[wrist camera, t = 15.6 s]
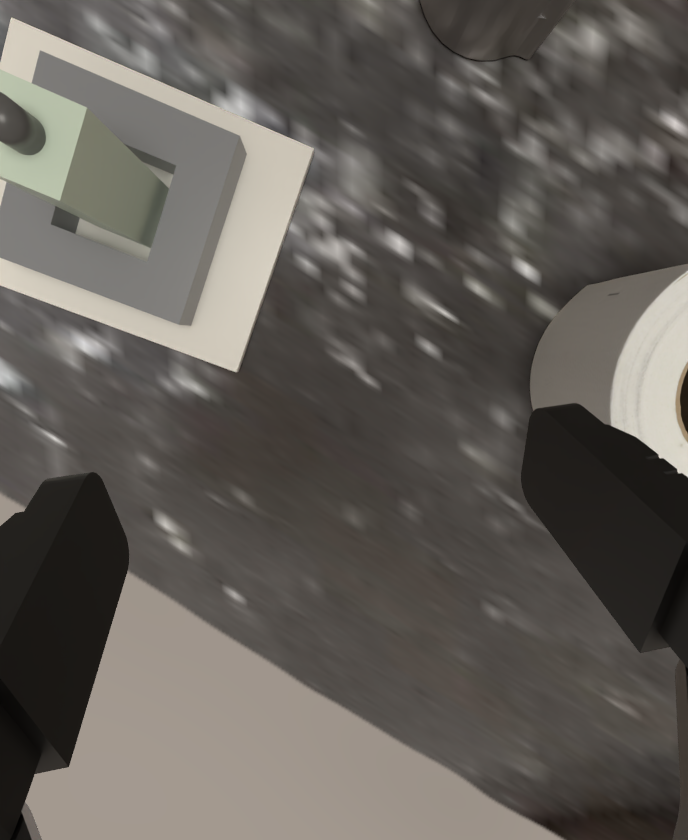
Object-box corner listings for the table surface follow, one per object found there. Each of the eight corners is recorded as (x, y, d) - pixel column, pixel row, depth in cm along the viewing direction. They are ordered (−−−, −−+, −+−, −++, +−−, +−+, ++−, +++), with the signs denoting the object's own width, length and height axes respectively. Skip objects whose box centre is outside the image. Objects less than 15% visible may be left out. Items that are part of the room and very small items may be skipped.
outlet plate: (313, 154, 33) (313, 129, 29) (238, 371, 35) (229, 375, 31) (21, 27, 31) (-23, -18, 27) (-39, 269, 33) (-87, 260, 29)
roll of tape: (518, 293, 35) (604, 276, 25) (718, 258, 36) (886, 227, 25) (538, 489, 38) (622, 548, 28) (722, 455, 39) (876, 500, 28)
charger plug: (172, 191, 32) (62, 82, 18) (153, 249, 32) (32, 186, 19) (113, 166, 31) (-46, 35, 18) (95, 225, 32) (-73, 143, 18)
